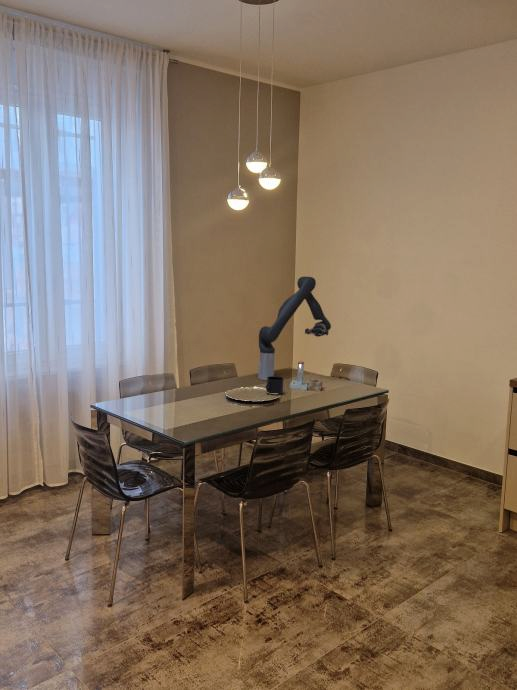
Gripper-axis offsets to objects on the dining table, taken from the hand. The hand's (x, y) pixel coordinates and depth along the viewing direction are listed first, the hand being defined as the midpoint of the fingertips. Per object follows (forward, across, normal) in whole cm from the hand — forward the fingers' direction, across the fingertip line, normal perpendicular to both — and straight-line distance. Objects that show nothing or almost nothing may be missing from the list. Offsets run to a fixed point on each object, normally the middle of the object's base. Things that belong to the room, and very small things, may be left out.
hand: (315, 333), depth 379 cm
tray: (+11, -6, +32) cm, 34 cm away
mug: (+31, -18, +32) cm, 48 cm away
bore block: (+11, +3, +32) cm, 34 cm away
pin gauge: (+11, -6, +31) cm, 34 cm away
